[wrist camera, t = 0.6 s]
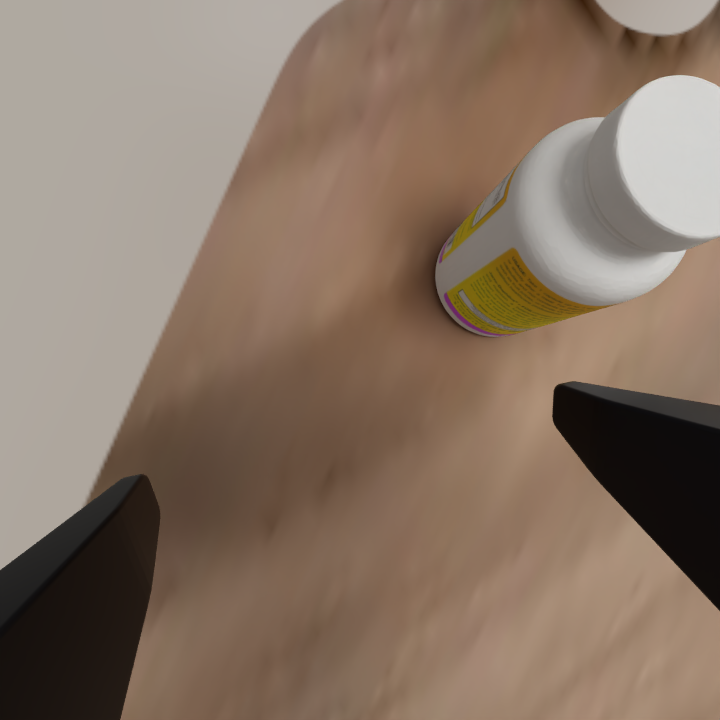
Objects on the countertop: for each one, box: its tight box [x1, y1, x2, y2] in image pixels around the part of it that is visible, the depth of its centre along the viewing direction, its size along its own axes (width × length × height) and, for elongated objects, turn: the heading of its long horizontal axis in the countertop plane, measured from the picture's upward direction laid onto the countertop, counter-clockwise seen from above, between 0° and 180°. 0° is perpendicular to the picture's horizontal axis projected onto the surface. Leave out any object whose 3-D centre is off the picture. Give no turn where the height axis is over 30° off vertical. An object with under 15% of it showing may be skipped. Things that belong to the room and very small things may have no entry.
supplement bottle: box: [435, 75, 720, 337], centre depth 18 cm, size 7×7×13 cm
